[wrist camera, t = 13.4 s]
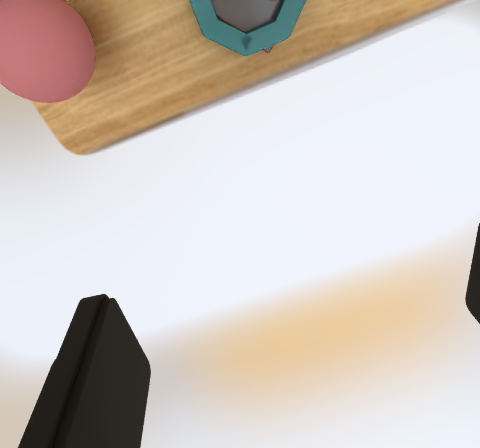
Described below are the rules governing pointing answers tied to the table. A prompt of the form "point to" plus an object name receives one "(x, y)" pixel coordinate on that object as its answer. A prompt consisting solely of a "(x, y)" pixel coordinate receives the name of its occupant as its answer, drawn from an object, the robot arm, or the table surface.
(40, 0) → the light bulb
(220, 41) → the ring
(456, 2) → the table surface
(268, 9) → the peg stand
